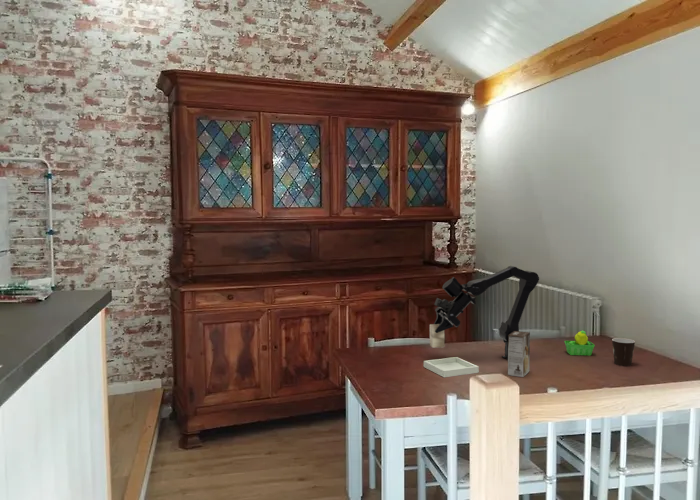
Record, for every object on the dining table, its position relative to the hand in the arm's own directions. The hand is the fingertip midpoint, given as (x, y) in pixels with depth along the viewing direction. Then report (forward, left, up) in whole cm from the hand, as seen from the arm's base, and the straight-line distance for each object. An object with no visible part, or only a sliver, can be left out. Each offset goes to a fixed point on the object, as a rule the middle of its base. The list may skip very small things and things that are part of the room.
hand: (433, 331), depth 235 cm
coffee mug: (-35, -69, -14) cm, 79 cm away
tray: (-13, 0, -13) cm, 19 cm away
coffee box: (-28, -22, -14) cm, 38 cm away
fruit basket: (-15, -66, -14) cm, 69 cm away
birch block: (0, -1, -7) cm, 7 cm away
